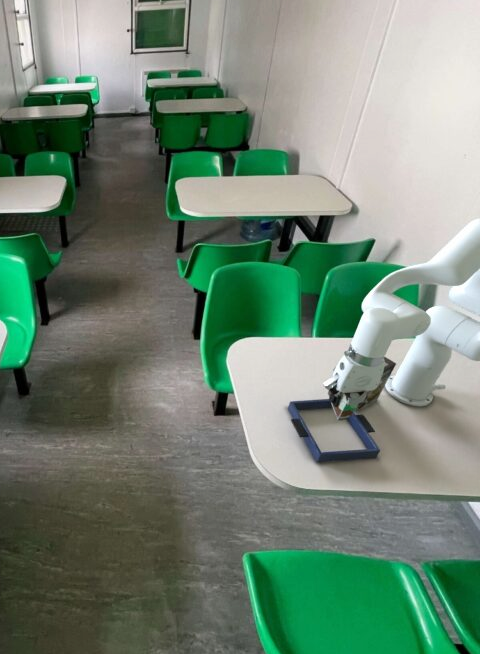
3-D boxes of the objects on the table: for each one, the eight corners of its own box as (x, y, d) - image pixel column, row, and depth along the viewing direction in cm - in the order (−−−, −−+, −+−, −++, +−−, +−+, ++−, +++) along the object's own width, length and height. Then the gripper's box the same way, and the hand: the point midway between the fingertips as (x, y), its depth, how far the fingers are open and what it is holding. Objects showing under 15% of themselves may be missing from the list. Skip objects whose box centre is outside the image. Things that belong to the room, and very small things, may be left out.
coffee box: (358, 412, 128) (377, 374, 118) (339, 398, 132) (356, 360, 123) (377, 401, 131) (397, 363, 121) (358, 387, 136) (376, 350, 126)
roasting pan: (347, 404, 130) (351, 397, 128) (384, 457, 115) (389, 450, 113) (279, 409, 129) (282, 401, 127) (307, 463, 114) (311, 455, 112)
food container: (364, 426, 111) (376, 401, 105) (339, 424, 112) (349, 399, 106) (349, 390, 121) (359, 366, 115) (326, 389, 122) (334, 365, 116)
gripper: (339, 367, 101) (319, 415, 112) (409, 361, 101) (383, 410, 112) (324, 346, 107) (306, 394, 118) (390, 340, 107) (367, 389, 118)
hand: (344, 401), depth 115 cm, fingers closed on food container, 5 cm apart
